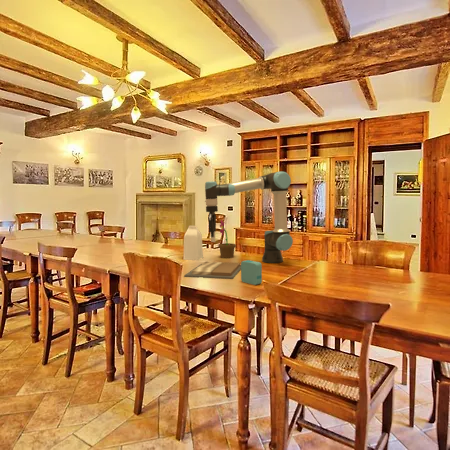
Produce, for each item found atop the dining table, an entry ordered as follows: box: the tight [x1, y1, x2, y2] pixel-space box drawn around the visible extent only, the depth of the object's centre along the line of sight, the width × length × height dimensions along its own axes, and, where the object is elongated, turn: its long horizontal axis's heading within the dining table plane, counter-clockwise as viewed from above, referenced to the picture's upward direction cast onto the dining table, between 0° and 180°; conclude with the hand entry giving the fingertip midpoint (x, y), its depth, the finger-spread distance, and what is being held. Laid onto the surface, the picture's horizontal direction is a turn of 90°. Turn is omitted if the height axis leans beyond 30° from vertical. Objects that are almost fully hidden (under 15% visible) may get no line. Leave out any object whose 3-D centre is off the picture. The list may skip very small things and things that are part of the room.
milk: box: [183, 225, 204, 261], centre depth 261 cm, size 12×12×26 cm
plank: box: [192, 261, 223, 275], centre depth 217 cm, size 12×30×2 cm, turn 167°
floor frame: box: [184, 262, 241, 280], centre depth 216 cm, size 30×35×3 cm
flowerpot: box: [217, 219, 237, 259], centre depth 266 cm, size 14×14×30 cm
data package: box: [240, 259, 263, 286], centre depth 186 cm, size 12×4×12 cm, turn 41°
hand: (213, 241), depth 218 cm, fingers closed
